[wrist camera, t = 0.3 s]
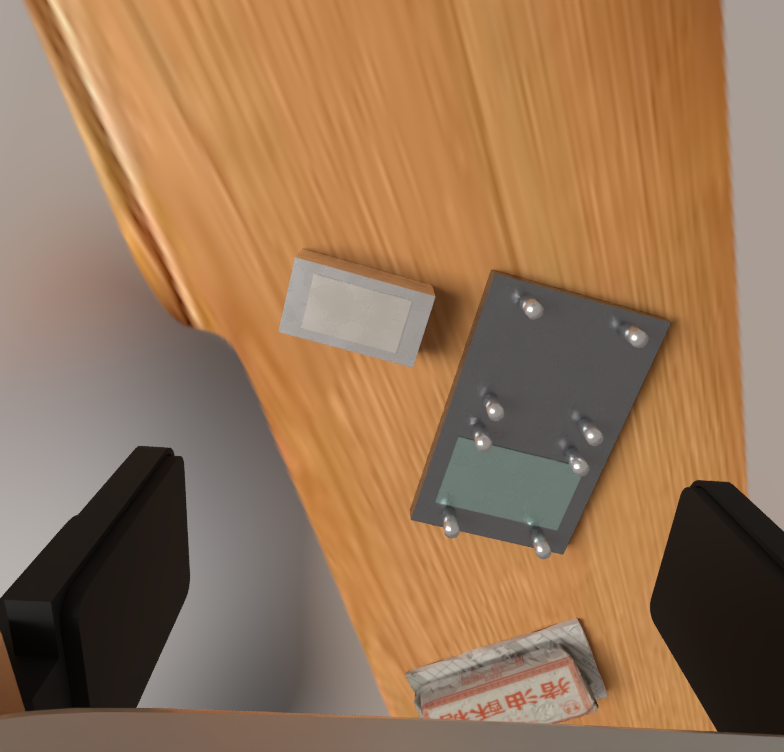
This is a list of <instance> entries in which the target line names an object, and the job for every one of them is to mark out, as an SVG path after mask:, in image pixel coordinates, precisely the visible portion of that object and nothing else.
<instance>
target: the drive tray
mask: <svg viewBox="0 0 784 752" xmlns="http://www.w3.org/2000/svg"><path fill="white" fill-rule="evenodd" d="M670 324H671V322H669V321H667V320H666V319H664V318H662V317H659V316H656V315H652V314H649V313H645V312H641V311H638V310H634V309H631V308H627V307H623V306H620V305H616V304H613V303H609V302H605V301H602V300H598V299H595V298H591V297H588V296H584V295H580V294H577V293H573V292H570V291H566V290H562V289H559V288H555V287H552V286H548V285H545V284H541V283H537V282H534V281H530V280H527V279H523V278H519V277H516V276H512V275H509V274H505V273H501V272H498V271H494V270H491V272H490V275H489V278H488V281H487V284H486V287H485V290H484V293H483V296H482V299H481V302H480V305H479V307H478V310H477V313H476V316H475V319H474V322H473V325H472V328H471V331H470V334H469V337H468V340H467V343H466V346H465V349H464V352H463V355H462V358H461V361H460V364H459V367H458V370H457V373H456V376H455V378H454V381H453V384H452V387H451V390H450V393H449V396H448V399H447V402H446V405H445V408H444V411H443V414H442V417H441V420H440V423H439V426H438V429H437V432H436V435H435V438H434V441H433V444H432V447H431V450H430V452H429V455H428V458H427V461H426V464H425V467H424V470H423V473H422V476H421V479H420V482H419V485H418V488H417V491H416V494H415V497H414V500H413V503H412V506H411V509H410V515H411V520H414V521H418V522H423V523H427V524H431V525H436V526H440V527H444V531H445V535H446V536H447V537H448V538H455V537H457V536H458V535H459V531H462V532H466V533H471V534H475V535H480V536H484V537H488V538H493V539H497V540H501V541H506V542H510V543H515V544H519V545H523V546H528V547H532V548H535V551H536V554H537V556H538V557H539V558H541V559H546V558H548V557H549V556H550V555H551V552H554V553H558V554H564V552H565V549H566V547H567V545H568V543H569V541H570V539H571V537H572V534H573V532H574V530H575V528H576V526H577V524H578V521H579V519H580V517H581V515H582V513H583V511H584V509H585V506H586V504H587V502H588V500H589V498H590V496H591V494H592V491H593V489H594V487H595V485H596V483H597V481H598V478H599V476H600V474H601V472H602V470H603V468H604V466H605V463H606V461H607V459H608V457H609V455H610V453H611V451H612V448H613V446H614V444H615V442H616V440H617V438H618V435H619V433H620V431H621V429H622V427H623V425H624V423H625V420H626V418H627V416H628V414H629V412H630V410H631V408H632V405H633V403H634V401H635V399H636V397H637V395H638V392H639V390H640V388H641V386H642V384H643V382H644V380H645V377H646V375H647V373H648V371H649V369H650V367H651V365H652V362H653V360H654V358H655V356H656V354H657V352H658V349H659V347H660V345H661V343H662V341H663V339H664V337H665V334H666V332H667V330H668V328H669V326H670Z"/></svg>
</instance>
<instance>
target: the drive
mask: <svg viewBox="0 0 784 752" xmlns="http://www.w3.org/2000/svg"><path fill="white" fill-rule="evenodd" d="M435 297H436V296H435V293H434V290H433V287H432V285H430V284H427V283H423V282H419V281H416V280H412V279H409V278H405V277H402V276H398V275H395V274H391V273H388V272H384V271H381V270H377V269H373V268H370V267H366V266H363V265H359V264H356V263H352V262H349V261H345V260H342V259H338V258H335V257H331V256H328V255H324V254H320V253H317V252H313V251H310V250H306V249H302V250H301V251H300V252H299V253H298V254H297V256H296V257H295V260H294V265H293V269H292V274H291V278H290V283H289V287H288V292H287V296H286V301H285V305H284V309H283V314H282V318H281V323H280V327H279V332H281V333H285V334H288V335H292V336H296V337H300V338H303V339H307V340H311V341H315V342H318V343H322V344H326V345H330V346H334V347H337V348H341V349H345V350H349V351H352V352H356V353H360V354H364V355H367V356H371V357H375V358H379V359H382V360H386V361H390V362H394V363H398V364H401V365H405V366H409V367H413V366H414V363H415V359H416V356H417V353H418V350H419V347H420V344H421V341H422V337H423V334H424V331H425V328H426V325H427V322H428V319H429V315H430V312H431V309H432V306H433V303H434V300H435Z"/></svg>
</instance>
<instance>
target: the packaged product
mask: <svg viewBox="0 0 784 752" xmlns="http://www.w3.org/2000/svg"><path fill="white" fill-rule="evenodd" d="M406 678H407V679H408V681H409V683H410V685H411V687H412V689H413V691H414V692H415V701H414V703H415V707H416V709H417V711H418V713H419V718H432V719H455V720H478V721H501V722H524V723H546V724H555V723H559V722H563V721H567V720H570V719H573V718H578V717H581V716H584V715H589V714H590V713H593V712H595V711H596V710H597V709H598V708H599V707H598V704H597V702H596V700H597V699H600V698H605V697H607V696H608V695H607V692H606V689H605V685H604V682H603V680H602V677H601V675H600V673H599V671H598V668H597V665H596V662H595V659H594V656H593V653H592V651H591V648H590V645H589V643H588V640H587V637H586V635H585V633H584V631H583V629H582V627H581V625H580V623H579V621H578V619H577V618H575V619H571V620H568V621H564V622H561V623H558V624H555V625H553V626H550V627H548V628H545V629H543V630H540V631H537V632H531V633H528V634H525V635H521V636H518V637H515V638H511V639H508V640H504V641H501V642H498V643H495V644H491V645H488V646H484V647H480V648H477V649H474V650H470V651H467V652H465V653H463V654H460V655H458V656H455V657H451V658H447V659H445V660H442V661H439V662H437V663H433V664H429V665H426V666H422V667H419V668H417V669H414V670H411V671H408V672H407V673H406Z"/></svg>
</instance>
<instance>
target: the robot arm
mask: <svg viewBox="0 0 784 752" xmlns="http://www.w3.org/2000/svg"><path fill="white" fill-rule="evenodd" d="M189 583H190V567H189V548H188V532H187V510H186V491H185V471H184V461H183V458H182V457H181V456H174V452H173V450H172V449H171V448H164V447H149V446H138V447H137V448H135V450H134V451H133V452H132V453H131V454H130V455H129V457H128V458H127V459H126V460H125V461H124V462H123V463H122V465H121V466H120V467H119V468H118V469H117V470H116V471H115V473H114V474H113V475H112V476H111V477H110V478H109V480H108V481H107V482H106V483H105V484H104V485H103V487H102V488H101V489H100V490H99V491H98V492H97V493H96V495H95V496H94V497H93V498H92V499H91V500H90V501H89V503H88V504H87V505H86V506H85V507H84V508H83V510H82V511H81V512H80V513H79V514H78V515H76V516H74V517H72V518H71V519H70V520H69V521H68V522H67V523H66V524H65V525H64V527H63V528H62V529H61V530H60V531H59V532H58V533H57V534H56V536H55V537H54V538H53V539H52V540H51V541H50V542H49V543H48V545H47V546H46V547H45V548H44V549H43V550H42V551H41V553H40V554H39V555H38V556H37V557H36V558H35V559H34V561H33V562H32V563H31V564H30V565H29V566H28V567H27V569H26V570H25V571H24V572H23V573H22V574H21V575H20V576H19V578H18V579H17V580H16V581H15V582H14V583H13V584H12V586H11V587H10V588H9V589H8V590H7V591H6V592H5V593H4V595H3V596H2V597H1V598H0V752H784V531H782V530H781V529H780V528H779V527H778V526H777V525H776V524H775V523H774V522H773V521H772V520H771V519H770V518H769V517H767V516H766V515H765V514H764V513H763V512H762V511H761V510H760V509H759V508H758V507H757V506H756V505H754V504H753V503H752V502H751V501H750V500H749V499H748V498H747V497H746V496H745V495H744V494H743V493H741V492H740V491H739V490H738V489H737V488H736V487H735V486H734V485H733V484H731V483H729V482H719V481H702V480H697V481H695V482H693V483H692V485H691V486H690V487H687V488H684V490H683V491H682V493H681V495H680V499H679V503H678V506H677V510H676V513H675V517H674V520H673V524H672V527H671V531H670V534H669V538H668V541H667V545H666V548H665V552H664V555H663V559H662V562H661V566H660V569H659V573H658V576H657V580H656V583H655V587H654V590H653V594H652V598H651V602H650V612H651V617H652V620H653V622H654V624H655V626H656V627H657V629H658V631H659V633H660V634H661V636H662V638H663V639H664V641H665V643H666V644H667V646H668V648H669V650H670V651H671V653H672V655H673V656H674V658H675V660H676V662H677V663H678V665H679V667H680V668H681V670H682V672H683V673H684V675H685V677H686V679H687V680H688V682H689V684H690V685H691V687H692V689H693V691H694V692H695V694H696V696H697V697H698V699H699V701H700V702H701V704H702V706H703V708H704V709H705V711H706V713H707V714H708V716H709V718H710V719H711V721H712V723H713V725H714V726H715V728H716V730H717V731H718V732H713V731H693V730H673V729H653V728H633V727H612V726H590V725H568V724H546V723H524V722H501V721H478V720H455V719H432V718H408V717H382V716H381V717H380V716H356V715H329V714H328V715H327V714H303V713H277V712H250V711H225V710H223V711H222V710H198V709H173V708H136V707H137V705H138V703H139V701H140V699H141V696H142V694H143V692H144V690H145V688H146V685H147V683H148V681H149V679H150V676H151V674H152V672H153V670H154V668H155V665H156V663H157V661H158V659H159V657H160V654H161V652H162V650H163V648H164V646H165V643H166V641H167V639H168V636H169V634H170V632H171V630H172V628H173V626H174V624H175V621H176V619H177V617H178V615H179V612H180V610H181V608H182V606H183V604H184V601H185V599H186V597H187V594H188V589H189Z"/></svg>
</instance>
